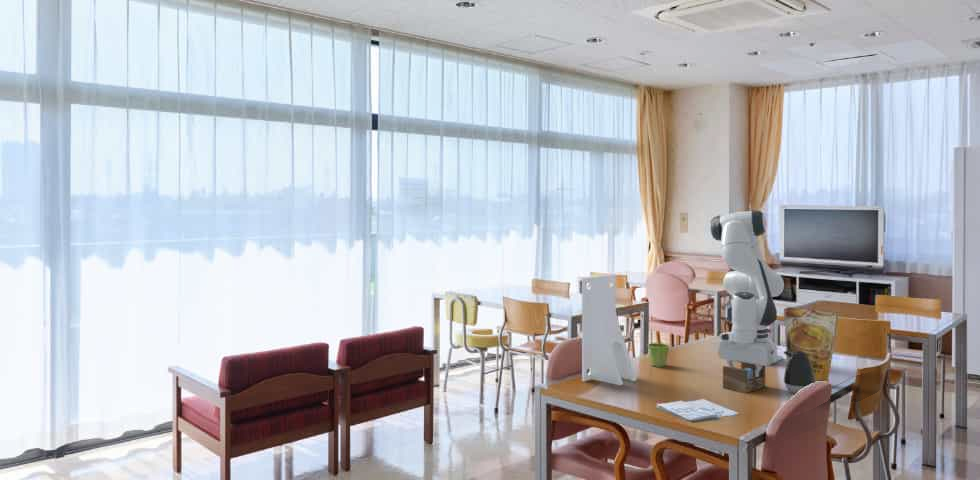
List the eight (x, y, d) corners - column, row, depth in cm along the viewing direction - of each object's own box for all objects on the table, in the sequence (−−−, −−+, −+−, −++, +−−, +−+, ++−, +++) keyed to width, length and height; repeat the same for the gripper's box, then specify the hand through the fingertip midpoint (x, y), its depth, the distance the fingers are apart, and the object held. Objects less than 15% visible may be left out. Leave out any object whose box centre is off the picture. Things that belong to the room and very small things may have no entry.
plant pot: (668, 363, 306) (668, 343, 306) (671, 368, 296) (671, 347, 296) (646, 363, 307) (646, 343, 306) (648, 367, 297) (648, 347, 297)
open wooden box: (742, 382, 271) (743, 361, 271) (765, 386, 264) (765, 365, 264) (722, 388, 262) (722, 366, 262) (745, 392, 255) (745, 370, 255)
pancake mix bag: (787, 377, 279) (787, 305, 278) (837, 385, 265) (838, 310, 264) (779, 379, 274) (779, 307, 273) (830, 388, 260) (831, 312, 259)
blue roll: (744, 382, 268) (741, 368, 269) (757, 382, 264) (754, 367, 265) (730, 386, 262) (728, 371, 263) (743, 386, 258) (741, 371, 259)
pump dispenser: (788, 387, 262) (788, 346, 261) (818, 392, 255) (818, 349, 255) (779, 393, 254) (779, 350, 254) (810, 397, 248) (810, 354, 247)
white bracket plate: (612, 387, 265) (612, 280, 263) (582, 380, 275) (581, 277, 274) (643, 378, 278) (643, 276, 277) (613, 372, 289) (613, 274, 287)
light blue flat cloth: (654, 408, 238) (654, 402, 238) (705, 402, 245) (705, 396, 245) (690, 424, 220) (690, 417, 220) (743, 417, 227) (743, 410, 227)
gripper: (775, 339, 256) (775, 377, 257) (724, 332, 272) (724, 368, 273) (766, 341, 252) (766, 380, 253) (715, 334, 268) (715, 370, 269)
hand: (744, 374), depth 263 cm, fingers open, 8 cm apart
